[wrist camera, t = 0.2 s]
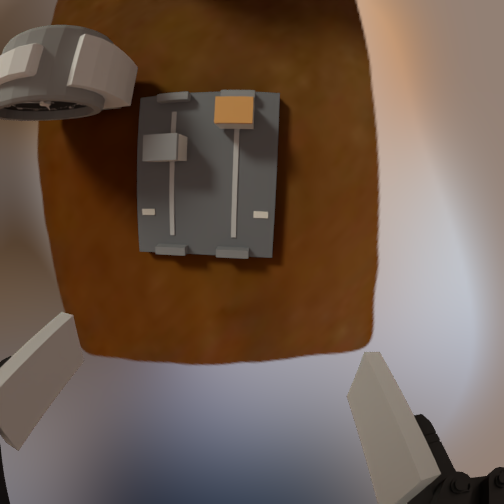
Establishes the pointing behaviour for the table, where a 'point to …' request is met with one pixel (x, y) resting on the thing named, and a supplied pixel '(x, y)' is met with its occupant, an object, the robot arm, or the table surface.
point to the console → (208, 178)
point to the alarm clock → (63, 74)
